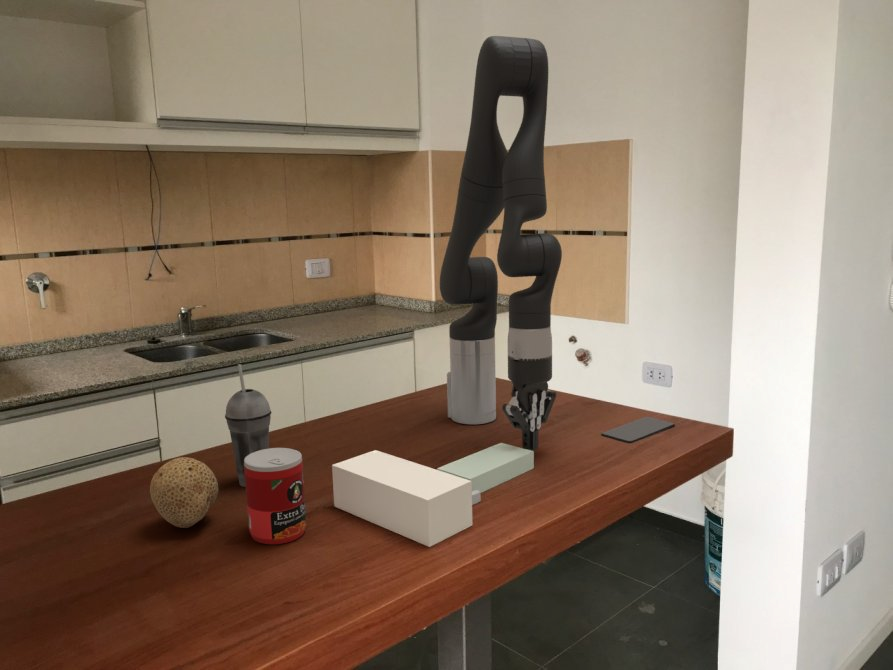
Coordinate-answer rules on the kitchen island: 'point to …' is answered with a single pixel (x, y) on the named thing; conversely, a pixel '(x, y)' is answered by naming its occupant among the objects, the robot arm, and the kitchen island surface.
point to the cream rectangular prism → (404, 496)
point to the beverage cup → (247, 424)
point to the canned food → (275, 495)
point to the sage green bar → (491, 466)
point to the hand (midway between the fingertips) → (530, 449)
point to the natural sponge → (183, 491)
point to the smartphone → (638, 429)
